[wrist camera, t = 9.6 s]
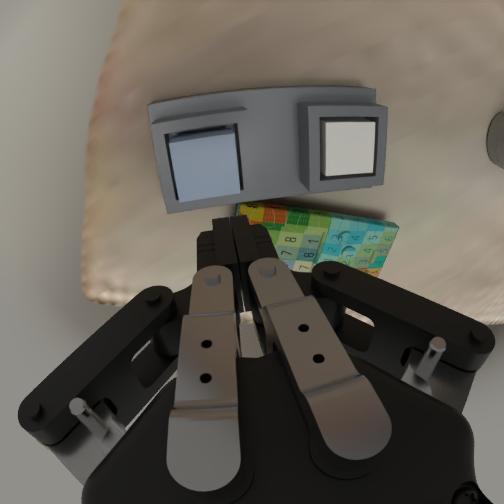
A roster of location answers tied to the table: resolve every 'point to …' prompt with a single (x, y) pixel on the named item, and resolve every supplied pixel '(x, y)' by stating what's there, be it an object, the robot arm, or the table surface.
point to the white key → (346, 145)
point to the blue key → (205, 164)
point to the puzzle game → (322, 236)
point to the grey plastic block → (268, 138)
